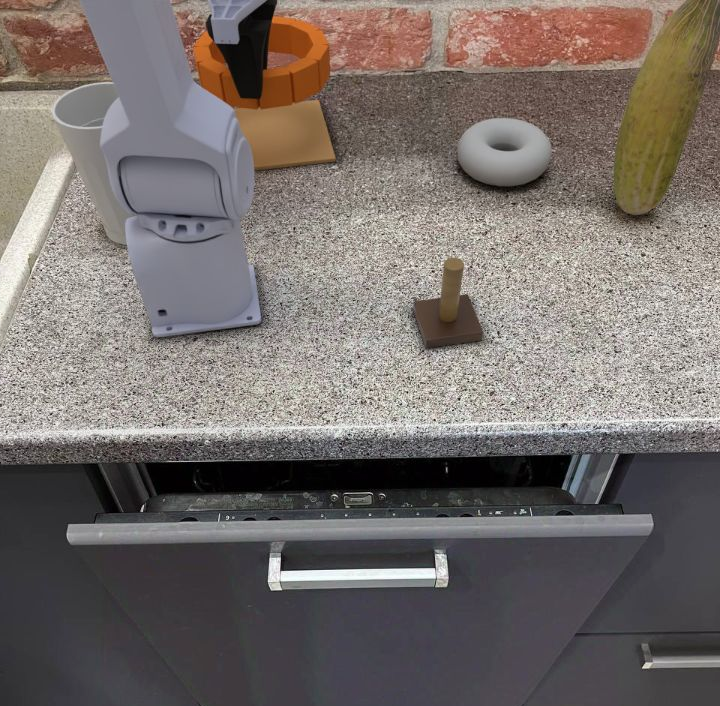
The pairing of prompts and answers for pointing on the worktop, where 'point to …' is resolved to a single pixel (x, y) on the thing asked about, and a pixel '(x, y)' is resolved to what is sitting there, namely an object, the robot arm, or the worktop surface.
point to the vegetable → (664, 105)
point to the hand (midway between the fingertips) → (253, 90)
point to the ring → (277, 82)
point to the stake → (448, 312)
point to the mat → (286, 135)
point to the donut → (504, 152)
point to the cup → (92, 149)
